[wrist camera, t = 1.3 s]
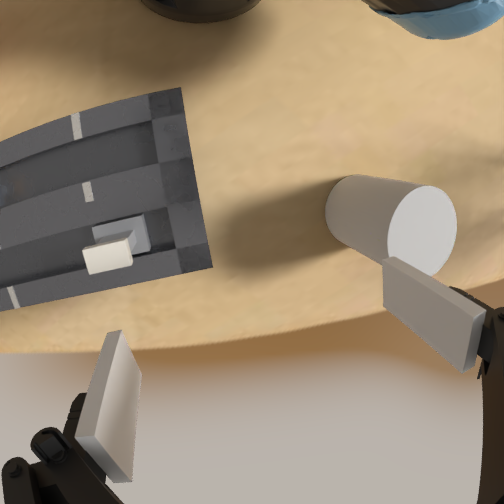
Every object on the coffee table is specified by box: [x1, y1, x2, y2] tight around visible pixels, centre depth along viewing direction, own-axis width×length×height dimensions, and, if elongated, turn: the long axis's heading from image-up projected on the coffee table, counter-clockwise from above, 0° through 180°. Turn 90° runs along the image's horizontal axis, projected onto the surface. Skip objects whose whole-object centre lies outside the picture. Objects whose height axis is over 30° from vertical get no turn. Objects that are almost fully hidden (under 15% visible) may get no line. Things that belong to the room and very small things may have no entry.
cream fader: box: [82, 213, 151, 275], centre depth 26 cm, size 3×5×7 cm
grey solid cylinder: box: [325, 175, 457, 277], centre depth 30 cm, size 8×8×12 cm
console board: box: [0, 87, 213, 311], centre depth 27 cm, size 17×32×3 cm, turn 99°
